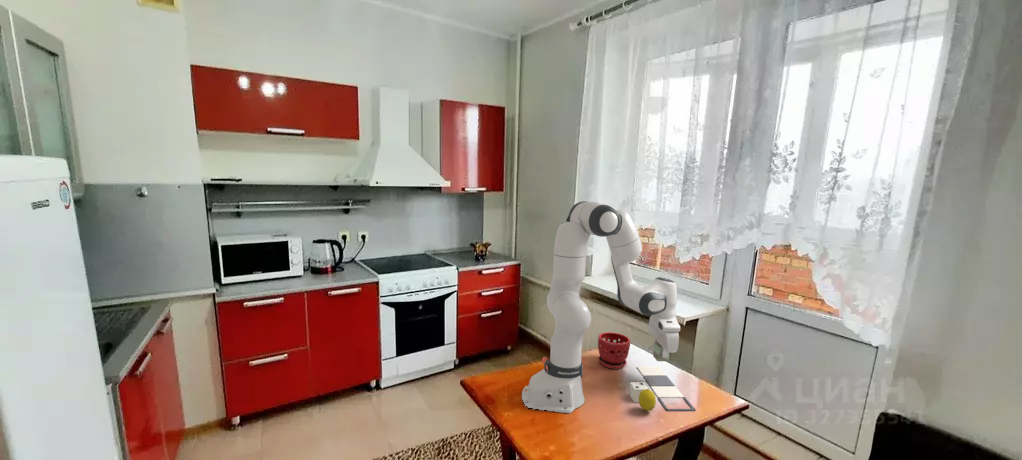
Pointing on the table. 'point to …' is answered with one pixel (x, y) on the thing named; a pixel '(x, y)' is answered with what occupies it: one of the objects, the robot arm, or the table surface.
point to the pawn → (659, 353)
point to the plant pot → (613, 350)
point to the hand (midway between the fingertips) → (661, 353)
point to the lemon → (647, 400)
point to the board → (662, 386)
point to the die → (636, 390)
